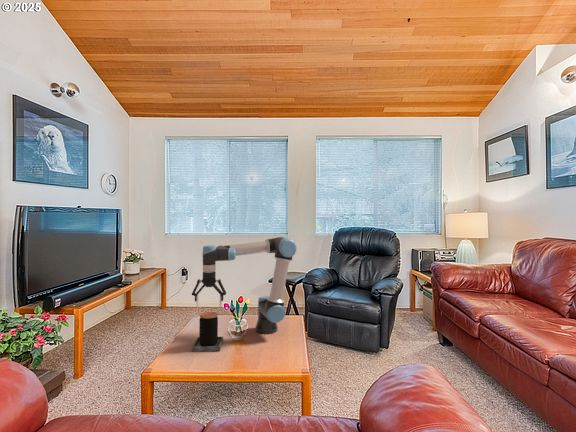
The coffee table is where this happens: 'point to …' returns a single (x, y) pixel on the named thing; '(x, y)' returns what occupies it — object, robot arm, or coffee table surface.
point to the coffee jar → (208, 329)
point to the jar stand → (199, 348)
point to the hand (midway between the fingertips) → (209, 306)
